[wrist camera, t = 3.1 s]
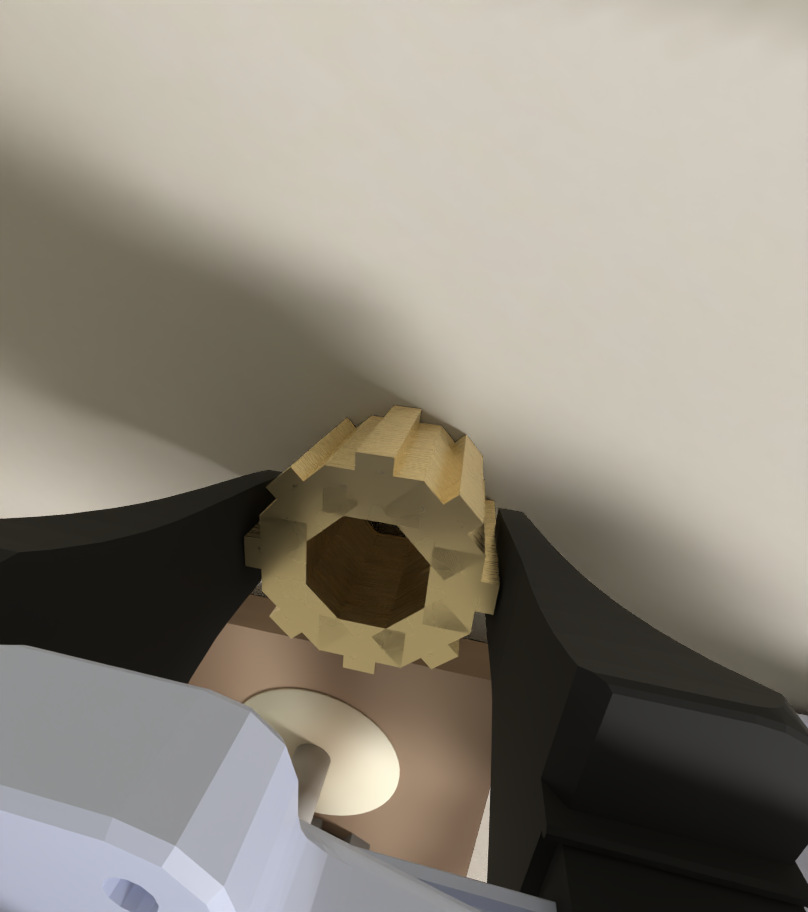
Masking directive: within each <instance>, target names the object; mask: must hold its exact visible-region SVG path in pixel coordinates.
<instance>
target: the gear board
mask: <svg viewBox="0 0 808 912" xmlns="http://www.w3.org/2000/svg"><path fill="white" fill-rule="evenodd" d="M275 607H276V605H275V604H274V603H273V602H272V601H271V600H270V599H269V598H265V597H261V596H256V595H251V594H250V595H249V596H248V597H247V599H246V600H245V601H244V602H243V604H242V605H241V606H240V607H239V609H238V610H237V611H236V612H235V614H234V615H233V616H232V618H231V619H230V620H229V621H228V623H227V624H226V625H225V627H224V628H223V629H222V631H221V632H220V634H219V635H218V636H217V638H216V639H215V641H214V642H213V644H212V646H211V647H210V649H209V650H208V652H207V653H206V655H205V657H204V658H203V660H202V661H201V663H200V665H199V666H198V668H197V669H196V671H195V673H194V674H193V676H192V678H191V679H190V681H189V683H188V684H189V685H194V686H198V687H202V688H206V689H210V690H212V691H215V692H217V693H219V694H221V695H224V696H226V697H228V698H231V699H233V700H235V701H237V702H240V703H242V704H244V705H246V706H249V707H251V708H252V709H253V710H254V711H255V712H256V713H257V714H258V715H260V716H261V717H262V718H263V719H264V720H265V721H266V722H267V723H268V724H269V725H270V726H271V727H272V728H273V729H274V730H275V731H276V732H277V733H278V734H279V735H280V736H281V737H282V738H283V740H284V743H285V745H286V747H287V750H288V753H289V756H290V759H291V762H292V764H293V767H294V770H295V773H296V776H297V779H298V817H299V819H301V820H303V821H305V822H307V823H309V824H311V825H313V826H315V827H317V828H319V829H321V830H323V831H325V832H327V833H329V834H331V835H333V836H335V837H337V838H339V839H341V840H343V841H345V842H347V843H348V844H350V845H352V846H356V847H360V848H363V849H367V850H370V851H374V852H377V853H381V854H385V855H388V856H392V857H395V858H399V859H403V860H406V861H410V862H413V863H417V864H420V865H424V866H428V867H431V868H435V869H438V870H442V871H446V872H449V873H453V874H456V875H460V876H464V877H466V876H467V872H468V868H469V865H470V861H471V857H472V853H473V850H474V846H475V842H476V839H477V835H478V831H479V827H480V824H481V820H482V816H483V812H484V809H485V805H486V801H487V798H488V794H489V790H490V786H491V745H492V687H491V673H490V662H489V650H488V643H483V642H478V641H473V640H469V639H464V638H460V639H459V653H458V657H456V658H454V659H452V660H450V661H448V662H445V663H443V664H441V665H439V666H437V667H435V668H433V669H431V668H430V667H429V666H428V665H427V664H426V663H425V662H424V661H423V660H422V659H421V658H420V659H418V660H416V661H413V662H411V663H409V664H407V665H405V666H403V667H401V668H399V667H394V666H390V665H385V664H381V663H377V665H376V669H375V672H374V674H370V673H366V672H361V671H357V670H352V669H348V668H343V657H344V655H340V654H335V653H331V652H326V651H322V650H318V648H317V647H316V646H315V645H314V644H313V643H312V642H311V641H310V640H309V639H308V638H307V637H306V636H305V635H304V634H303V633H300V634H298V635H296V636H295V637H293V638H290V637H289V636H288V635H287V634H286V633H285V632H284V631H283V630H282V629H281V628H280V627H279V626H278V625H277V624H276V623H275V622H274V621H273V620H272V619H271V618H270V617H269V616H270V615H271V613H272V612H273V610H274V609H275Z"/></svg>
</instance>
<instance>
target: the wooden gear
mask: <svg viewBox="0 0 808 912" xmlns="http://www.w3.org/2000/svg"><path fill="white" fill-rule="evenodd" d="M420 417H421V409H417V408H410V407H403V406H396V405H394V406H393V407H392V408H391V410H390V411H389V412H388V413H387V414H386V416H385V417H378V416H370V417H369V418H368V419H367V420H366V421H364V422H363V423H362V424H360V425H359V426H358V427H357V428H356V427H355V426H354V425H353V424H352V422H351V421H350V420H349V419H348V418H346V419H345V420H344V421H343V422H341V423H340V424H339V425H338V426H336V427H335V428H334V429H333V430H332V431H330V432H329V433H328V434H327V435H326V436H324V437H323V438H322V439H321V440H320V441H319V442H317V443H316V444H315V445H314V446H313V447H312V448H311V449H309V450H308V451H307V452H306V453H305V454H304V455H302V456H301V457H300V458H299V459H298V460H297V461H295V462H294V463H293V464H292V465H291V466H290V467H289V468H287V469H286V470H285V471H284V472H283V473H282V474H280V475H279V476H278V477H277V478H276V479H275V480H273V481H272V482H271V483H270V484H269V485H268V486H267V487H266V488H267V489H268V490H269V491H270V492H271V493H272V494H273V496H274V497H275V498H276V500H275V501H274V502H272V503H271V504H270V505H269V506H268V507H267V508H266V509H265V510H264V511H263V512H262V513H261V514H260V521H259V522H258V523H257V524H256V525H255V526H254V527H253V528H252V529H251V530H250V531H249V532H248V533H247V534H246V535H245V536H244V546H245V566H249V567H254V568H259V569H261V572H262V592H264V593H265V594H266V595H267V597H268V598H269V599H270V600H271V601H272V602H273V603H274V604H275V605H276V607H275V609H274V610H273V612H272V613H271V615H270V616H269V617H270V618H271V619H272V620H273V621H274V622H275V623H276V624H277V625H278V626H279V627H280V628H281V629H282V630H283V631H284V632H285V633H286V634H287V635H288V636H289V637H290V638H293V637H295V636H296V635H298V634H300V633H303V634H304V635H305V636H306V637H307V638H308V639H309V640H310V641H311V642H312V643H313V644H314V645H315V646H316V647H317V648H318V650H322V651H326V652H331V653H335V654H340V655H344V657H343V668H348V669H352V670H357V671H361V672H366V673H370V674H374V672H375V669H376V665H377V663H381V664H385V665H390V666H394V667H399V668H401V667H403V666H405V665H407V664H409V663H411V662H413V661H416V660H418V659H420V658H421V659H422V660H423V661H424V662H425V663H426V664H427V665H428V666H429V667H430V668H431V669H433V668H435V667H437V666H439V665H441V664H443V663H445V662H448V661H450V660H452V659H454V658H456V657H458V653H459V639H460V638H462V637H464V636H466V635H468V634H470V633H471V628H472V623H473V618H474V613H475V611H476V612H481V613H486V614H491V615H493V613H494V609H495V604H496V600H497V595H498V591H499V586H500V582H499V566H498V556H497V551H496V540H495V525H496V520H495V504H494V501H491V500H485V479H483V456H482V454H481V453H480V452H479V450H478V449H477V448H476V447H475V445H474V444H473V443H472V441H471V440H470V439H469V438H468V436H467V435H465V436H464V437H462V438H461V439H459V440H458V441H457V442H454V441H453V439H452V438H451V437H450V435H449V434H448V433H447V432H446V430H445V429H444V428H443V427H442V425H434V424H427V423H420ZM367 520H370V521H376V522H382V523H387V524H393V525H397V526H398V527H399V528H400V530H401V531H402V532H403V533H404V534H405V535H406V537H407V538H405V537H400V536H394V535H388V534H383V533H377V532H376V531H375V529H374V528H373V527H372V526H371V525H370V524H369V523H368V521H367Z"/></svg>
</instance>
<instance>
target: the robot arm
mask: <svg viewBox="0 0 808 912" xmlns="http://www.w3.org/2000/svg"><path fill="white" fill-rule="evenodd" d="M282 473H283V472H277V471H271V470H267V471H261V472H256V473H252V474H249V475H245V476H241V477H238V478H235V479H231V480H228V481H225V482H221V483H218V484H215V485H211V486H208V487H205V488H201V489H197V490H194V491H190V492H186V493H182V494H179V495H175V496H171V497H168V498H163V499H159V500H154V501H150V502H145V503H140V504H135V505H129V506H124V507H118V508H112V509H104V510H96V511H89V512H81V513H73V514H64V515H53V516H41V517H25V518H7V519H0V912H808V716H807V715H802V714H797V713H796V712H795V711H794V709H793V708H792V707H791V705H790V704H789V703H788V702H787V700H786V699H785V698H784V696H783V695H782V694H779V693H777V692H775V691H773V690H771V689H769V688H767V687H765V686H763V685H761V684H759V683H757V682H754V681H752V680H750V679H748V678H746V677H744V676H742V675H740V674H738V673H736V672H734V671H732V670H729V669H727V668H725V667H723V666H721V665H719V664H717V663H715V662H713V661H711V660H709V659H707V658H705V657H704V656H702V655H700V654H698V653H696V652H695V651H693V650H691V649H689V648H687V647H686V646H684V645H682V644H680V643H678V642H677V641H675V640H673V639H671V638H670V637H668V636H666V635H665V634H663V633H661V632H660V631H658V630H656V629H655V628H653V627H652V626H650V625H649V624H647V623H646V622H644V621H643V620H641V619H640V618H638V617H636V616H635V615H633V614H632V613H630V612H629V611H627V610H626V609H625V608H623V607H622V606H620V605H619V604H618V603H616V602H615V601H613V600H612V599H611V598H610V597H608V596H607V595H606V594H605V593H603V592H602V591H601V590H599V589H598V588H597V587H596V586H594V585H593V584H592V583H591V582H590V581H588V580H587V579H586V578H585V577H584V576H583V575H582V574H580V573H579V572H578V571H577V570H576V569H575V568H574V567H573V566H572V565H571V564H570V563H569V562H568V561H567V560H566V559H565V558H564V557H563V556H562V555H561V554H560V553H559V552H558V551H557V550H556V549H555V548H554V547H553V546H552V545H551V544H550V543H549V542H548V541H547V539H546V538H545V537H544V536H543V535H542V534H541V533H540V531H539V530H538V529H537V528H536V527H535V526H534V525H533V523H532V522H531V521H530V520H529V519H528V518H527V516H526V515H525V514H524V513H523V512H519V511H513V510H507V509H501V508H499V510H498V515H497V520H496V525H495V540H496V551H497V556H498V566H499V582H500V586H499V591H498V595H497V600H496V604H495V609H494V613H493V615H491V614H486V613H485V616H486V628H487V639H488V650H489V662H490V673H491V687H492V745H491V789H490V820H489V850H488V874H487V883H485V882H481V881H478V880H474V879H471V878H467V877H464V876H460V875H456V874H453V873H449V872H446V871H442V870H438V869H435V868H431V867H428V866H424V865H420V864H417V863H413V862H410V861H406V860H403V859H399V858H395V857H392V856H388V855H385V854H381V853H377V852H374V851H370V850H367V849H363V848H360V847H356V846H352V845H350V844H348V843H347V842H345V841H343V840H341V839H339V838H337V837H335V836H333V835H331V834H329V833H327V832H325V831H323V830H321V829H319V828H317V827H315V826H313V825H311V824H309V823H307V822H305V821H303V820H301V819H299V817H298V779H297V776H296V773H295V770H294V767H293V764H292V762H291V759H290V756H289V753H288V750H287V747H286V745H285V743H284V740H283V738H282V737H281V736H280V735H279V734H278V733H277V732H276V731H275V730H274V729H273V728H272V727H271V726H270V725H269V724H268V723H267V722H266V721H265V720H264V719H263V718H262V717H261V716H260V715H258V714H257V713H256V712H255V711H254V710H253V709H252V708H251V707H249V706H246V705H244V704H242V703H240V702H237V701H235V700H233V699H231V698H228V697H226V696H224V695H221V694H219V693H217V692H215V691H212V690H210V689H206V688H202V687H198V686H194V685H189V684H188V683H189V681H190V679H191V678H192V676H193V674H194V673H195V671H196V669H197V668H198V666H199V665H200V663H201V661H202V660H203V658H204V657H205V655H206V653H207V652H208V650H209V649H210V647H211V646H212V644H213V642H214V641H215V639H216V638H217V636H218V635H219V634H220V632H221V631H222V629H223V628H224V627H225V625H226V624H227V623H228V621H229V620H230V619H231V618H232V616H233V615H234V614H235V612H236V611H237V610H238V609H239V607H240V606H241V605H242V604H243V602H244V601H245V600H246V599H247V597H248V596H249V595H250V593H251V592H252V591H253V590H254V588H255V587H256V586H257V585H258V583H259V582H260V581H261V579H262V572H261V569H259V568H254V567H249V566H245V546H244V536H245V535H246V534H247V533H248V532H249V531H250V530H251V529H252V528H253V527H254V526H255V525H256V524H257V523H258V522H259V521H260V514H261V513H262V512H263V511H264V510H265V509H266V508H267V507H268V506H269V505H270V504H271V503H272V502H274V501H275V500H276V498H275V497H274V496H273V494H272V493H271V492H270V491H269V490H268V489H267V488H266V487H267V486H268V485H269V484H270V483H271V482H272V481H273V480H275V479H276V478H277V477H278V476H279V475H280V474H282Z"/></svg>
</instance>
